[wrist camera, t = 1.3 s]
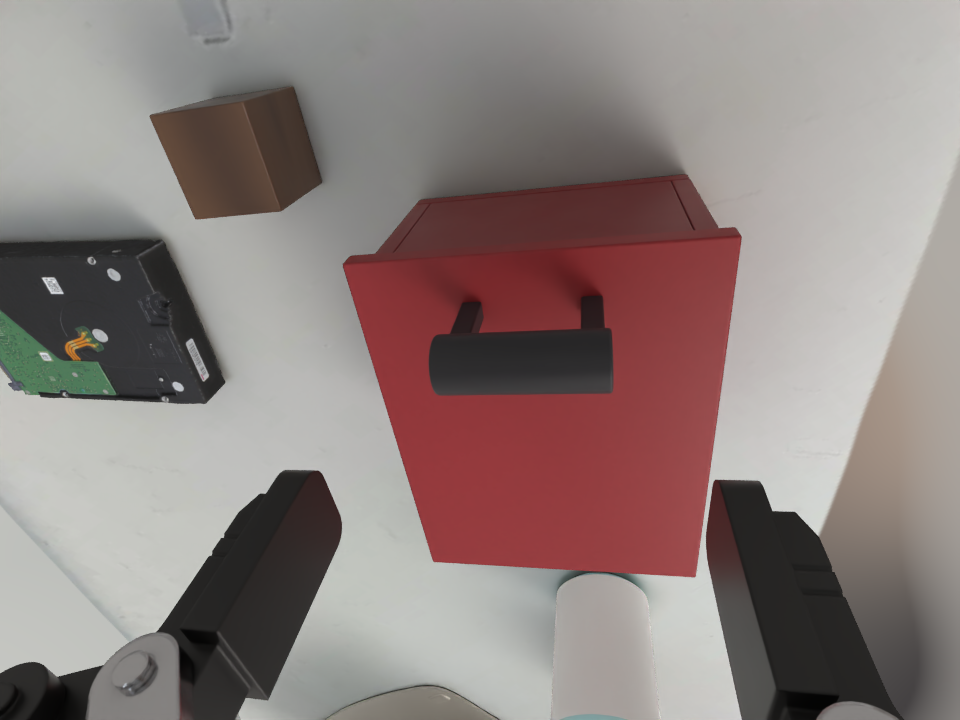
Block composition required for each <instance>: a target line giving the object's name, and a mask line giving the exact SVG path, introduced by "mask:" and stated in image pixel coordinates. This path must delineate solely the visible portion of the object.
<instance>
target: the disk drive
mask: <svg viewBox="0 0 960 720" xmlns="http://www.w3.org/2000/svg"><path fill="white" fill-rule="evenodd" d="M0 367H1V369H2V370H3V371H4V373H5V374H6V375H7V377H8V378H10V380H11V381H12V383H8V385H9V386H10V387H12V389H13V390H14V391H15V390H17V391H20V390H23V391H24V392H25V394H28V395H40V397H47V398H77V399H79V398H80V399H94V400H95V399H97V400H99V399H101V400H115V401H116V400H123V401H144V402H146V401H148V402H168V403H177V404H189V403H191V404H196V403H201V404H206V403H207V402H208V401H209V400H210V399H211V398H212V397H213V396H214V394H216V392H217V391H218V390H219V389H220V388H221V387H222V386H223V385H224V384H225V380H224V378H223V376H222V374H221V371H220V368H219V365H218V362H217V359H216V357H215V354H214V352H213V350H212V347H211V345H210V343H209V341H208V339H207V336H206V334H205V332H204V330H203V327H202V324H201V322H200V320H199V318H198V316H197V314H196V311H195V309H194V306H193V304H192V302H191V299H190V297H189V295H188V293H187V290H186V288H185V285H184V283H183V281H182V278H181V276H180V274H179V272H178V270H177V268H176V265H175V263H174V262H173V260H172V258H171V257H170V254H169V252H168V250H167V248H166V244H165V243H164V242H163V241H162V240H157V241H153V240H113V241H66V242H64V241H63V242H19V243H18V242H9V243H0Z"/></svg>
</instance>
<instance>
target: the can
mask: <svg viewBox="0 0 960 720" xmlns="http://www.w3.org/2000/svg"><path fill="white" fill-rule="evenodd" d="M551 720H661V719H660V710H659V701H658V691H657V682H656V672H655V663H654V653H653V644H652V634H651V625H650V615H649V606H648V599H647V597H646V595H645V594H644V592H643V591H642V590H641V589H640V588H639V587H637V586H636V585H634V584H633V583H631V582H630V581H628V580H625V579H624V578H622V577H619V576H617V575H613V574H609V573H601V572H594V573H586V574H582V575H579V576H577V577H574V578H572V579H570V580H568V581H567V582H565V583H564V584H563V585H561V587H560V588H559V589H558V591H557V596H556V616H555V638H554V659H553V680H552V702H551Z"/></svg>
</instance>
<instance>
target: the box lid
mask: <svg viewBox="0 0 960 720" xmlns="http://www.w3.org/2000/svg"><path fill="white" fill-rule="evenodd" d="M741 239H742V237H741V235H740V233H739V232H738V230H737V229H736V228H735V227H731V228H717V229H704V230H690V231H677V232H663V233H650V234H637V235H623V236H610V237H596V238H583V239H569V240H556V241H542V242H529V243H516V244H502V245H489V246H475V247H462V248H448V249H435V250H421V251H408V252H394V253H381V254H368V255H354V256H350V257H349V258H348V259H347V260H346V261H345V262H344V263H343V268H344V271H345V274H346V278H347V281H348V284H349V288H350V291H351V294H352V297H353V301H354V304H355V307H356V310H357V314H358V317H359V320H360V324H361V327H362V330H363V333H364V337H365V340H366V343H367V346H368V350H369V353H370V356H371V360H372V363H373V366H374V369H375V373H376V376H377V379H378V382H379V386H380V389H381V392H382V396H383V399H384V402H385V405H386V409H387V412H388V415H389V418H390V422H391V425H392V428H393V432H394V435H395V438H396V441H397V445H398V448H399V451H400V454H401V458H402V461H403V464H404V468H405V471H406V474H407V477H408V481H409V484H410V487H411V490H412V494H413V497H414V500H415V504H416V507H417V510H418V513H419V517H420V520H421V523H422V526H423V530H424V533H425V536H426V540H427V543H428V546H429V549H430V553H431V556H432V559H433V561H434V562H444V563H461V564H478V565H495V566H513V567H530V568H547V569H564V570H581V571H598V572H615V573H632V574H649V575H666V576H683V577H695V576H696V570H697V563H698V555H699V548H700V541H701V533H702V526H703V519H704V511H705V504H706V497H707V489H708V482H709V474H710V467H711V460H712V452H713V445H714V438H715V430H716V423H717V416H718V408H719V401H720V393H721V386H722V379H723V371H724V364H725V357H726V349H727V342H728V335H729V327H730V320H731V312H732V305H733V298H734V290H735V283H736V276H737V268H738V261H739V253H740V246H741Z"/></svg>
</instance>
